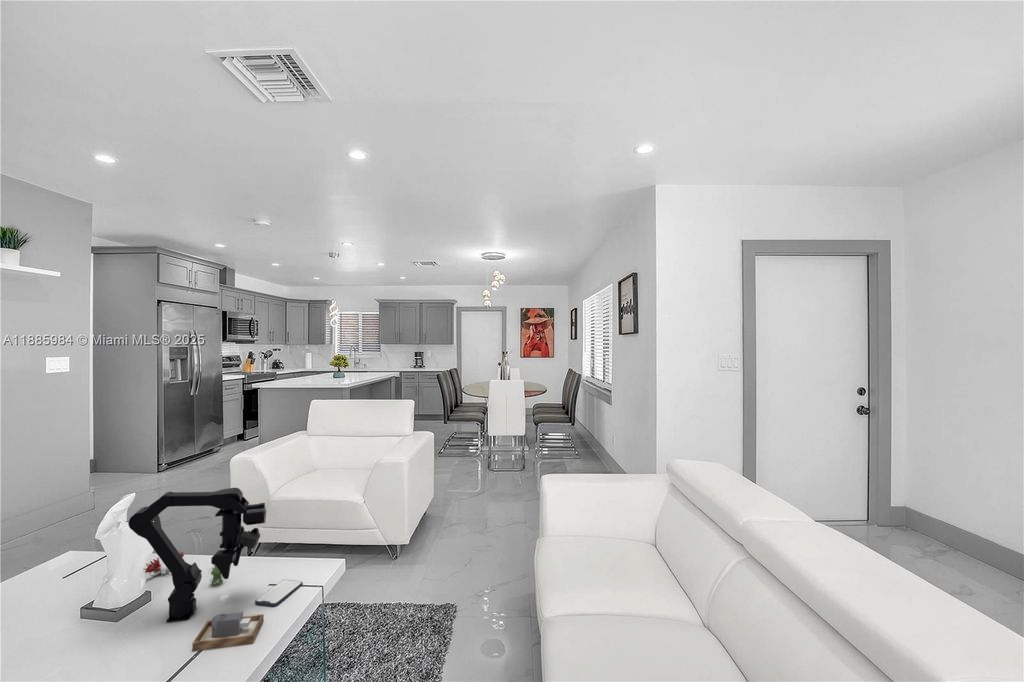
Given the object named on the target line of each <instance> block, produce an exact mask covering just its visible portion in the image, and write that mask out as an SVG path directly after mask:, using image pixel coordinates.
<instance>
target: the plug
mask: <svg viewBox="0 0 1024 682" xmlns="http://www.w3.org/2000/svg"><path fill="white" fill-rule="evenodd" d="M243 617H244V611H239V612H230V613H229V612H228V613H220V614H217V615H215V616H213V617H212V618H211V620H212V638H221V637H229V636H238V635H239V634H240V632H241V630H242V628H245V627H248V626H249V624H250V623H251V618H244V619H243Z"/></svg>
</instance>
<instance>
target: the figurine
mask: <svg viewBox="0 0 1024 682" xmlns="http://www.w3.org/2000/svg"><path fill="white" fill-rule="evenodd" d="M178 552H179V554H180V555H181V556H182V558H184V557H185V554H184V551H180V550H178ZM152 560H153V561H152ZM152 560H149V563H146V564H145V565H146V566H147V568H144V571H145V572H144V574H145V573H150V576H152V577H153V576H154V577H155V576H157V575H159V574H161V575H163V574H164V575H166V573H167V572H169V573H170V574H171V572H170V571H169V570H168V568H167V567H166V566H165V564H164V563H162V564H161V562H160V557H159V556H158V557H157V558H156V559H155V558H154V559H152ZM162 578H163V576H162Z"/></svg>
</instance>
